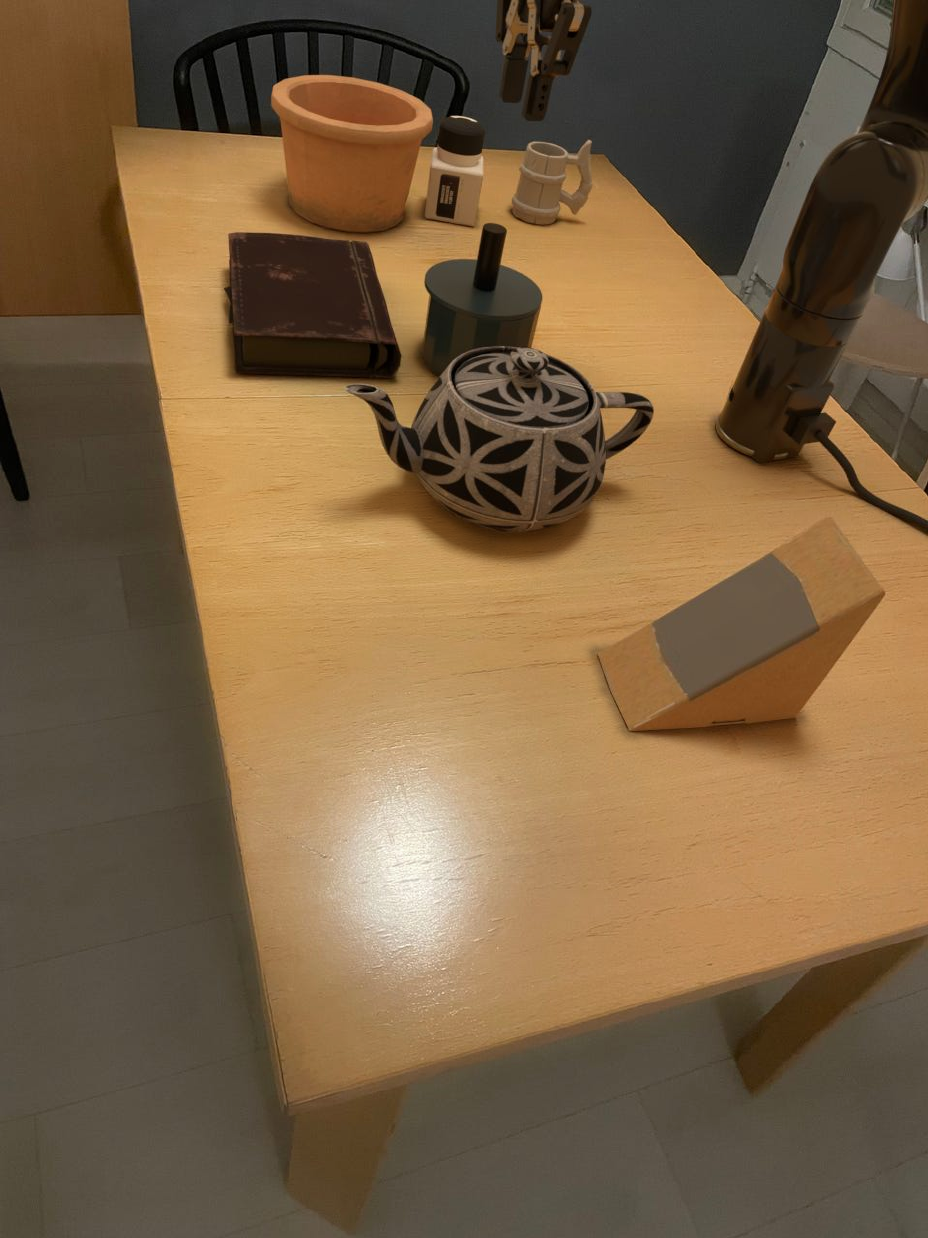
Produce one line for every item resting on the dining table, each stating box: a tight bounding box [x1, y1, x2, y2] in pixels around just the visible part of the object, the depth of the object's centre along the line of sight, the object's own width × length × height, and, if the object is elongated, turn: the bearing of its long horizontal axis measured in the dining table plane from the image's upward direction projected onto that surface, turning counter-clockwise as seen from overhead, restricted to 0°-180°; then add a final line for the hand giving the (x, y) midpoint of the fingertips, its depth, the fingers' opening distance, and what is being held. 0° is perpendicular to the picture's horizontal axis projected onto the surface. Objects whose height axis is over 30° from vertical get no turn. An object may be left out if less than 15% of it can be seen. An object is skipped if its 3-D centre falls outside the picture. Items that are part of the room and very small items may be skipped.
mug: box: [511, 139, 593, 226], centre depth 135 cm, size 8×12×12 cm, turn 92°
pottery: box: [270, 74, 434, 234], centre depth 124 cm, size 22×22×14 cm
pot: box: [421, 294, 542, 378], centre depth 101 cm, size 12×12×8 cm
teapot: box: [343, 346, 655, 533], centre depth 82 cm, size 19×31×15 cm, turn 106°
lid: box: [423, 222, 544, 321], centre depth 96 cm, size 13×13×8 cm
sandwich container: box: [597, 515, 886, 732], centre depth 68 cm, size 9×15×15 cm, turn 102°
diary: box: [223, 231, 402, 379], centre depth 103 cm, size 19×25×5 cm
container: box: [424, 115, 486, 227], centre depth 130 cm, size 8×8×13 cm
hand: (520, 109), depth 85 cm, fingers open, 4 cm apart
